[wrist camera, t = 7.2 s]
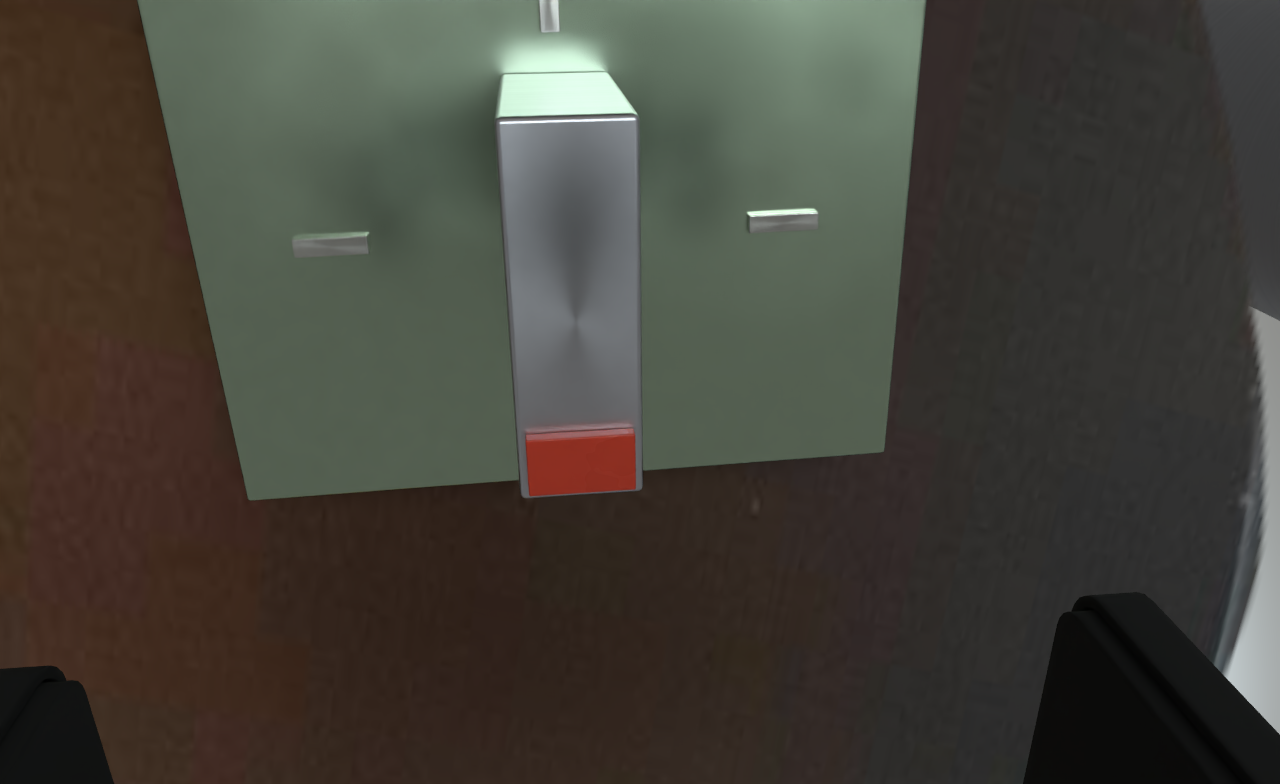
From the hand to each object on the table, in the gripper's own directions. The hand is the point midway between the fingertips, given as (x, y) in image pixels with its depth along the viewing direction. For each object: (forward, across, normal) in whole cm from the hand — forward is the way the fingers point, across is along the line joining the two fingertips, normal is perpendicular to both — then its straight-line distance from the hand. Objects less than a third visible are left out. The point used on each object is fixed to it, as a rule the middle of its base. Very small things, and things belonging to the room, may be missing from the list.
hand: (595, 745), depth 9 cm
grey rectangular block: (+11, 0, -2) cm, 12 cm away
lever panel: (+14, 0, -2) cm, 15 cm away
